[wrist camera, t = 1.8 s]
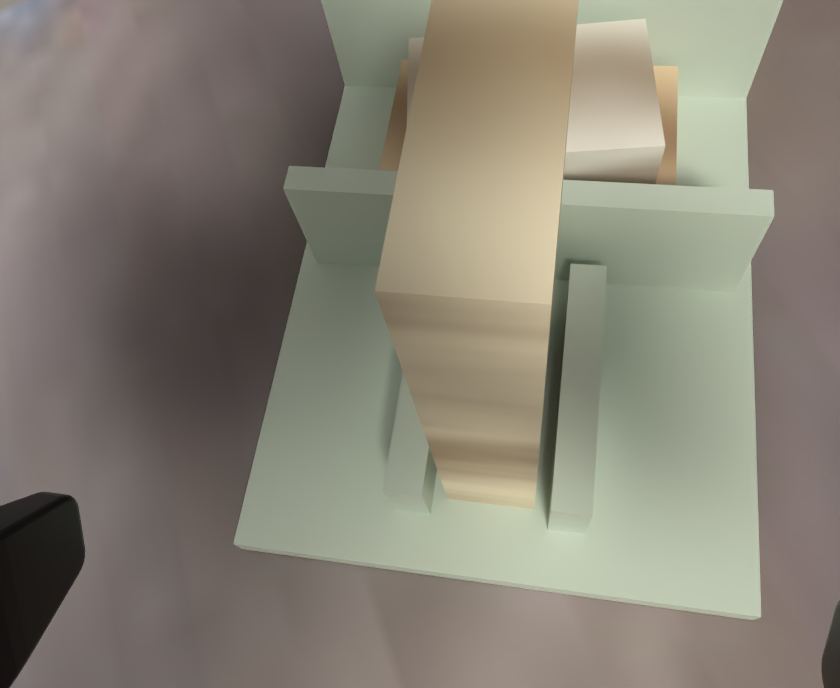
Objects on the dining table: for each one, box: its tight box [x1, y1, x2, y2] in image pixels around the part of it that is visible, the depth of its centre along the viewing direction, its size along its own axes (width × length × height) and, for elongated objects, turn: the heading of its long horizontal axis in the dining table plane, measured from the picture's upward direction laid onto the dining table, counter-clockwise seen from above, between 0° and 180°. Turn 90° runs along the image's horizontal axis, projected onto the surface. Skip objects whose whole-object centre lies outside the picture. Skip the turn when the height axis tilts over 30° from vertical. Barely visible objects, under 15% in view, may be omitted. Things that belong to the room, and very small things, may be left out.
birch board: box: [375, 0, 579, 509], centre depth 17 cm, size 6×2×12 cm, turn 171°
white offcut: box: [407, 19, 665, 184], centre depth 23 cm, size 5×7×2 cm, turn 89°
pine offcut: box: [379, 59, 678, 185], centre depth 25 cm, size 6×9×2 cm, turn 81°
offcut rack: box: [233, 0, 783, 620], centre depth 22 cm, size 18×14×7 cm
